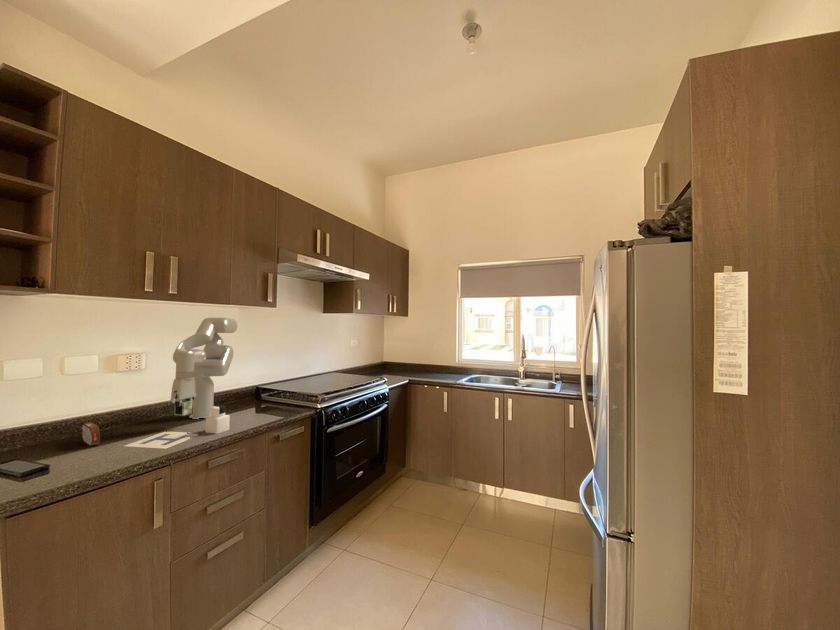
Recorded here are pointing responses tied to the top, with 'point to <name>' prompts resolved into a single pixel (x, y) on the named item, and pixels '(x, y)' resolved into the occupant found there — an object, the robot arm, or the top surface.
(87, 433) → the tin
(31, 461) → the top surface
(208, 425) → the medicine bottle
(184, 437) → the letter sheet
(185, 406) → the cover block
